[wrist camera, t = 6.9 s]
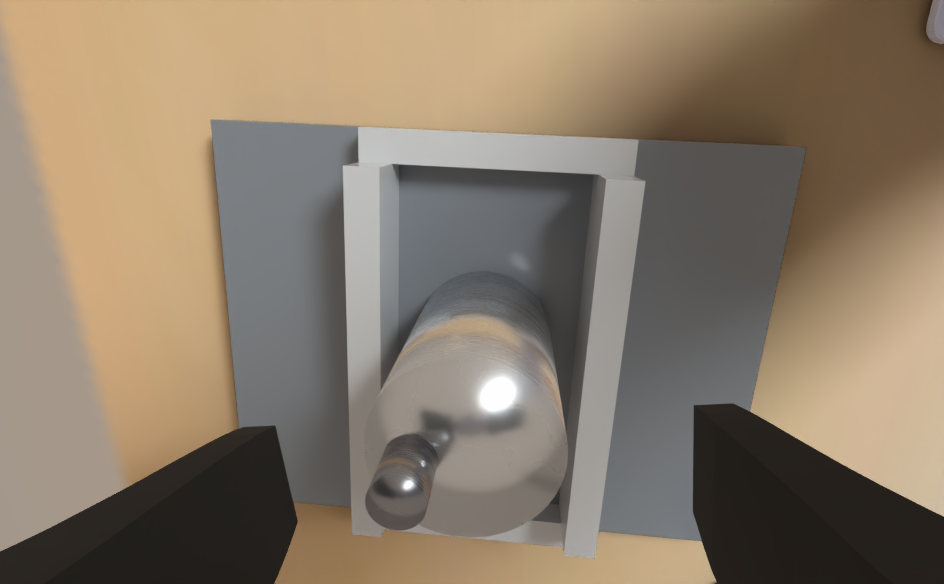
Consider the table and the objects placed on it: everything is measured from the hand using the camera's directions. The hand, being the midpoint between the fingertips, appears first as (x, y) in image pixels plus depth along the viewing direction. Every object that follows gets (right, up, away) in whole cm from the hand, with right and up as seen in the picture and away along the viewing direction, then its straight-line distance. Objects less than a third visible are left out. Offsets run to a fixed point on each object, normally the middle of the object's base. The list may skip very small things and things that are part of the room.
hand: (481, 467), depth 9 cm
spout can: (0, +2, +9) cm, 9 cm away
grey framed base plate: (0, +1, +10) cm, 10 cm away
